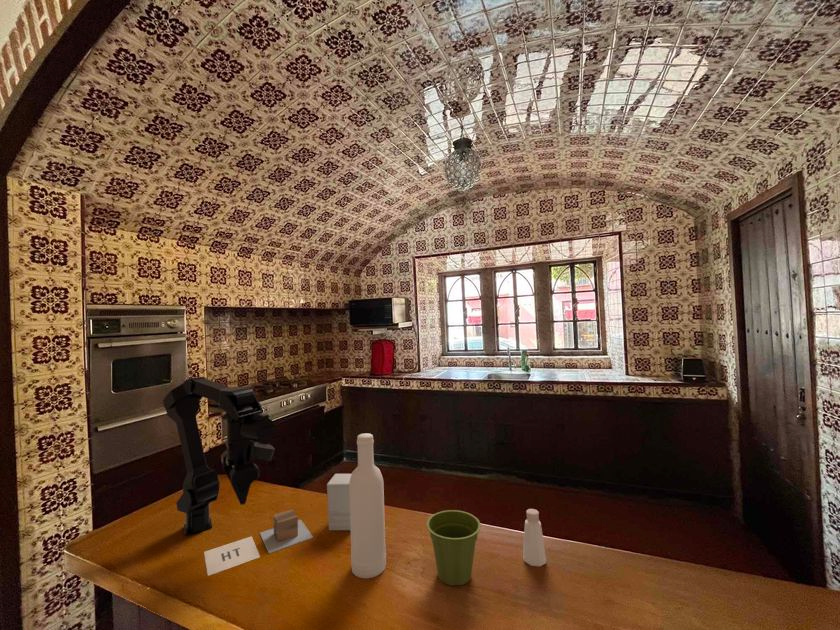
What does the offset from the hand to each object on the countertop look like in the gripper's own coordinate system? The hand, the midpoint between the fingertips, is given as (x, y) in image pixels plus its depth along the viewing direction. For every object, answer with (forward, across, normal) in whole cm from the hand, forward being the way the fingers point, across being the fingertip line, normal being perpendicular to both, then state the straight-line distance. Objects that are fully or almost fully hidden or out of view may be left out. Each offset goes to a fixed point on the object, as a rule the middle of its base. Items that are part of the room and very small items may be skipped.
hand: (239, 497), depth 95 cm
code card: (+12, -4, +3) cm, 13 cm away
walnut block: (+11, -5, -10) cm, 16 cm away
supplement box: (+12, -9, -25) cm, 29 cm away
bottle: (+11, -30, -22) cm, 39 cm away
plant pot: (+11, -44, -36) cm, 58 cm away
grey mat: (+12, -5, -10) cm, 16 cm away
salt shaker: (+10, -52, -53) cm, 75 cm away
